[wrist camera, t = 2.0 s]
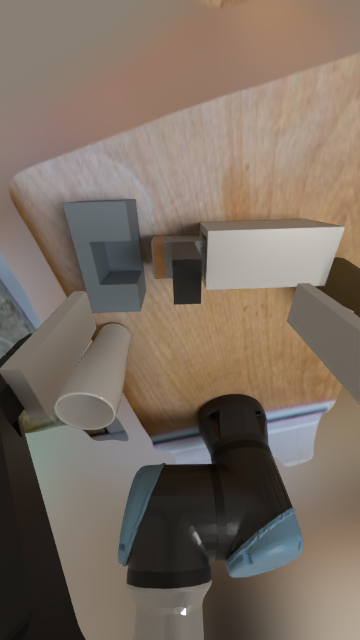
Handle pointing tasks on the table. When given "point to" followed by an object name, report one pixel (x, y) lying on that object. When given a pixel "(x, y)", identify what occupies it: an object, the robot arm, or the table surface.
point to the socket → (108, 253)
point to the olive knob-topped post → (343, 284)
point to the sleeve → (268, 253)
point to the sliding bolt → (181, 264)
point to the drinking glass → (96, 381)
